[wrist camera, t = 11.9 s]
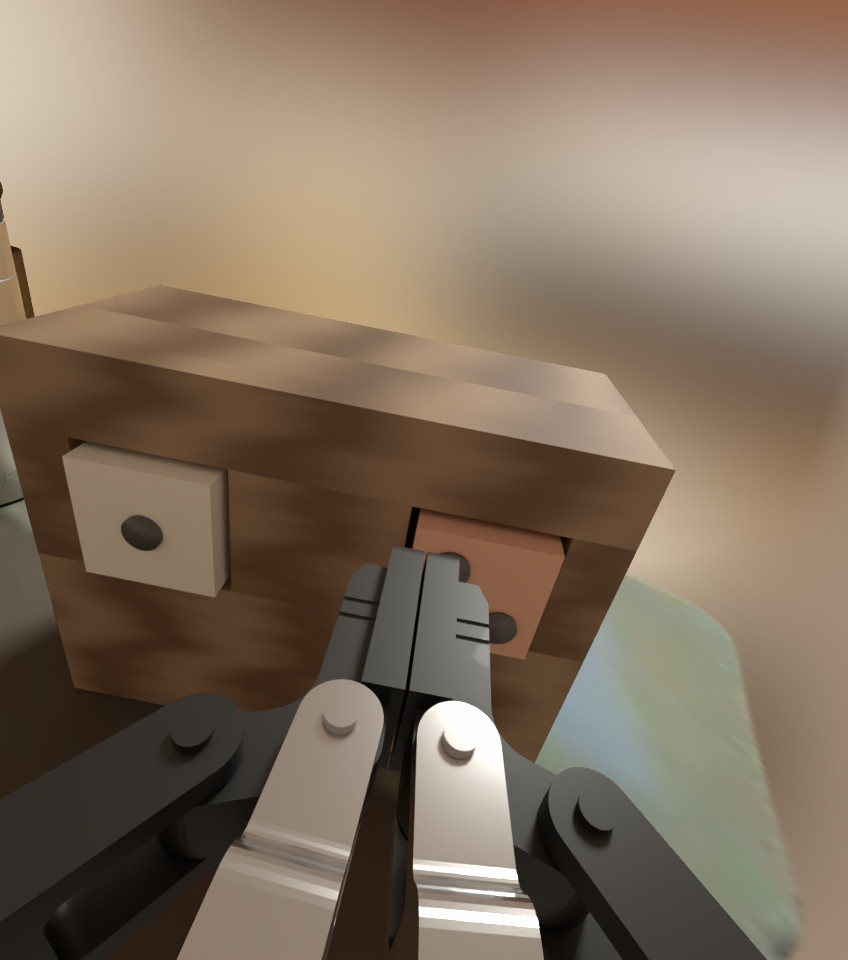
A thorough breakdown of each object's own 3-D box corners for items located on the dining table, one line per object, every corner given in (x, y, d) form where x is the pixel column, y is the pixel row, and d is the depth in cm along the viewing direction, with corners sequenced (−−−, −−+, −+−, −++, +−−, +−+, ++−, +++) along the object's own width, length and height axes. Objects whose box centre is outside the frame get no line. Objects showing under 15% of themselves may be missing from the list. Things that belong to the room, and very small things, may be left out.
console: (74, 687, 24) (-21, 331, 16) (182, 558, 33) (159, 285, 24) (526, 778, 24) (675, 470, 15) (514, 624, 33) (605, 374, 24)
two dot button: (394, 638, 19) (416, 531, 16) (411, 553, 23) (429, 459, 21) (524, 664, 19) (565, 561, 16) (516, 574, 23) (547, 483, 21)
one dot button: (82, 575, 19) (57, 458, 16) (159, 503, 23) (149, 403, 21) (212, 601, 19) (206, 488, 16) (264, 524, 23) (266, 427, 21)
